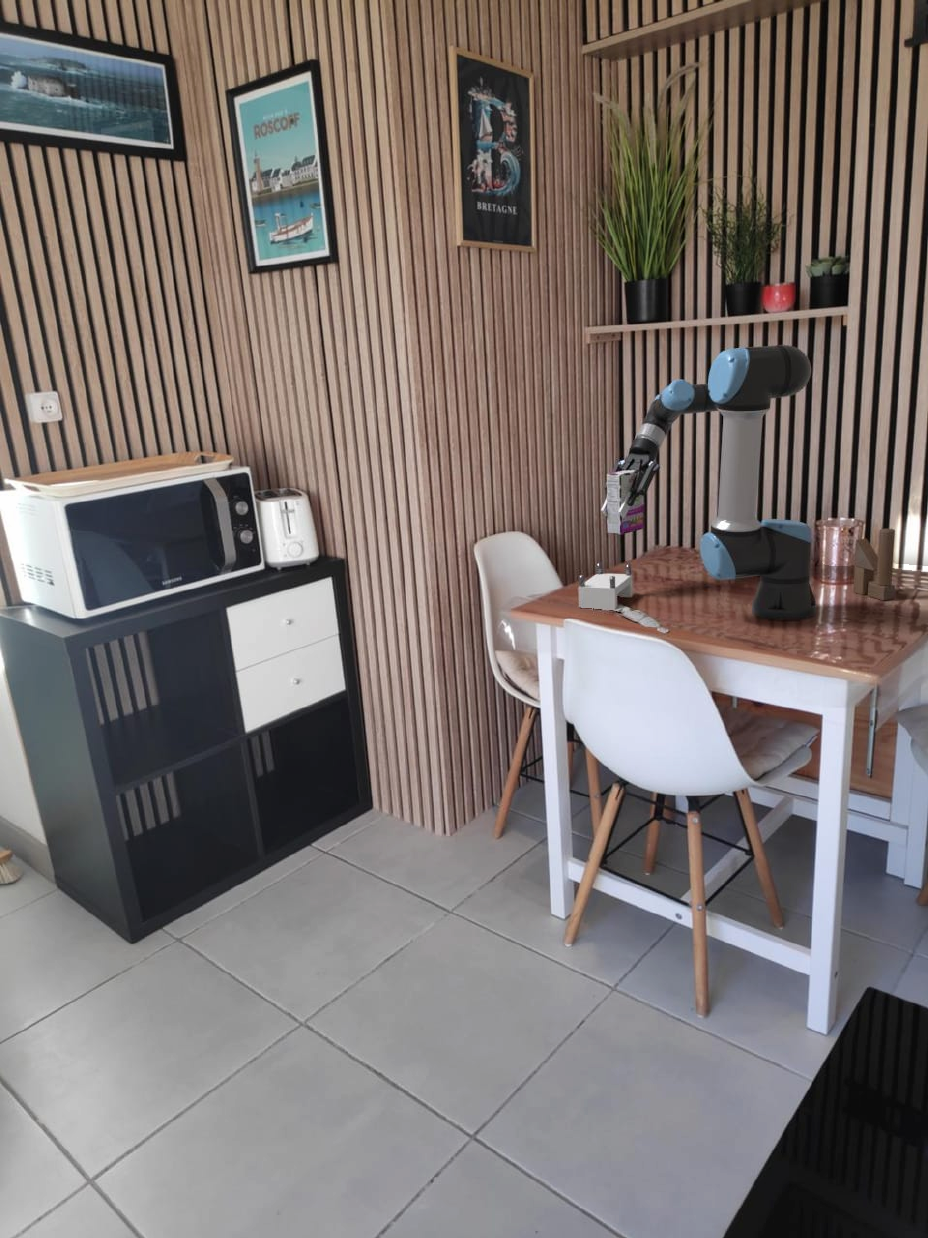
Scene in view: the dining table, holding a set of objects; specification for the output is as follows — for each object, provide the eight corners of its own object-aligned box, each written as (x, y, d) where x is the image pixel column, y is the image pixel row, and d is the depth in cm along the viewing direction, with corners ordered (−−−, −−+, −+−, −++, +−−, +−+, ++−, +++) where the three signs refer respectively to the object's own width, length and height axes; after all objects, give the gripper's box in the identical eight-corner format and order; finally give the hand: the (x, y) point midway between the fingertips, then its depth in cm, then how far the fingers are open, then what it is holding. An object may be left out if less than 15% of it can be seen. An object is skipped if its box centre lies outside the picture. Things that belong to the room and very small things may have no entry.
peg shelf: (632, 595, 252) (632, 564, 250) (615, 610, 239) (614, 577, 236) (598, 593, 257) (597, 562, 254) (579, 608, 243) (577, 575, 241)
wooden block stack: (863, 590, 241) (867, 523, 236) (894, 599, 231) (899, 529, 227) (852, 592, 240) (855, 525, 235) (883, 601, 230) (887, 531, 225)
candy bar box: (629, 527, 254) (630, 468, 250) (644, 529, 251) (645, 469, 246) (605, 533, 247) (605, 472, 242) (620, 535, 243) (621, 473, 239)
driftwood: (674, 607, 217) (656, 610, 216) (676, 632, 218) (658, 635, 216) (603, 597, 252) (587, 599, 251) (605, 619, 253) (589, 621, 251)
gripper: (680, 453, 246) (646, 524, 240) (625, 452, 258) (592, 519, 252) (669, 436, 241) (635, 507, 235) (614, 435, 253) (579, 503, 247)
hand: (612, 513), depth 243 cm, fingers closed on candy bar box, 5 cm apart
